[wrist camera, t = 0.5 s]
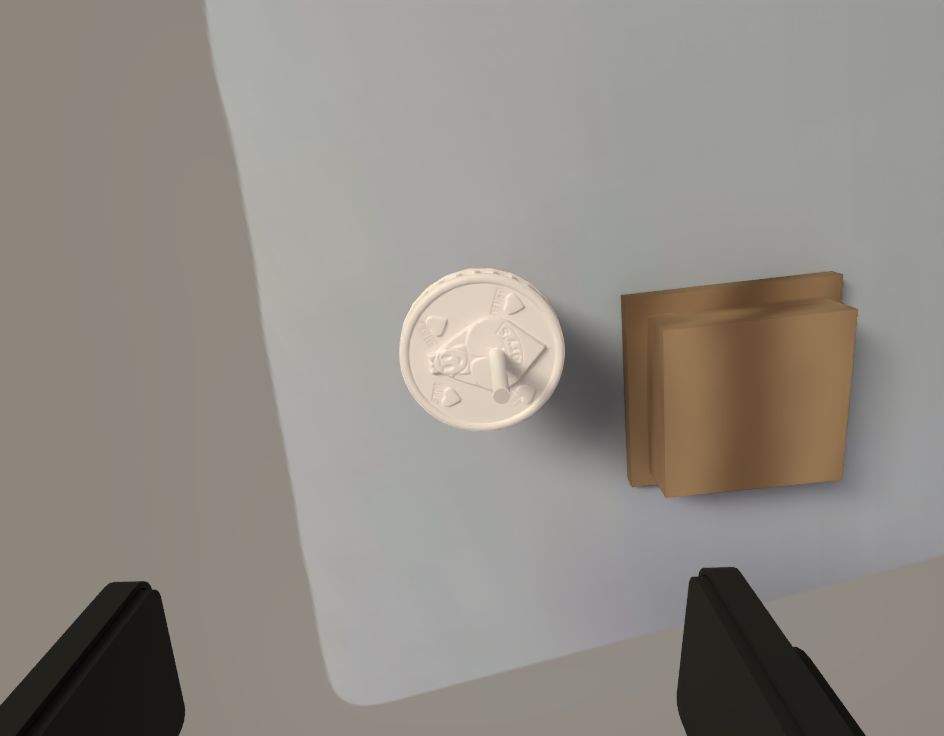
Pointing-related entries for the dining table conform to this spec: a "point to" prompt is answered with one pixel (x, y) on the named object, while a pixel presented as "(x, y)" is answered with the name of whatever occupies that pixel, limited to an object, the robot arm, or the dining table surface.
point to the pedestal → (737, 384)
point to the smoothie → (481, 349)
